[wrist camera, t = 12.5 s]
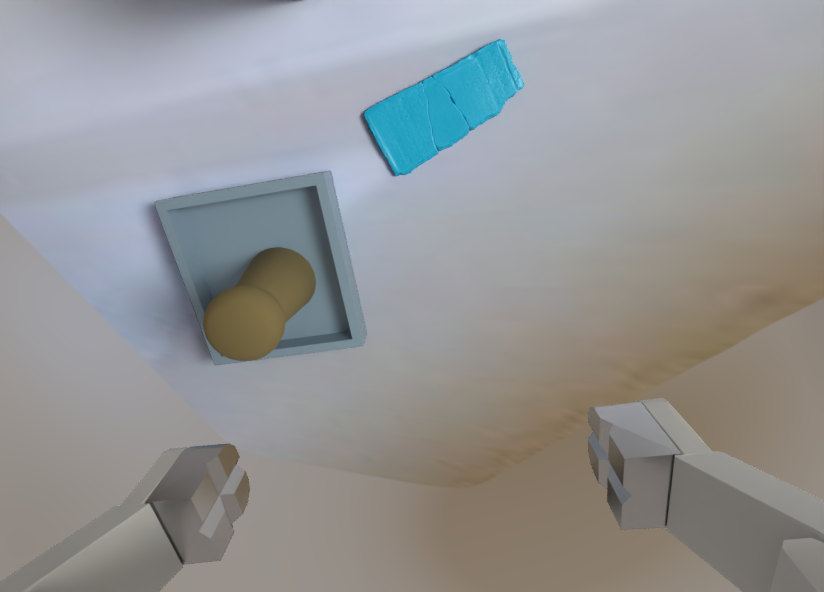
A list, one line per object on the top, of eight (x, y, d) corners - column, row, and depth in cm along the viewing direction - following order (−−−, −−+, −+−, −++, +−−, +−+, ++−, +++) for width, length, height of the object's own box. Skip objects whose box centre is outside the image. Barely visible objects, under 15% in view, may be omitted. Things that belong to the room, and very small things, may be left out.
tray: (172, 197, 35) (153, 202, 33) (330, 170, 34) (323, 172, 32) (227, 352, 41) (214, 365, 38) (367, 333, 39) (363, 346, 37)
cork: (271, 232, 35) (218, 270, 25) (329, 275, 37) (302, 328, 26) (234, 284, 37) (169, 340, 27) (291, 324, 38) (250, 391, 28)
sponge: (534, 113, 32) (508, 31, 29) (394, 182, 34) (359, 112, 31) (529, 112, 33) (504, 34, 31) (394, 178, 35) (361, 111, 33)
